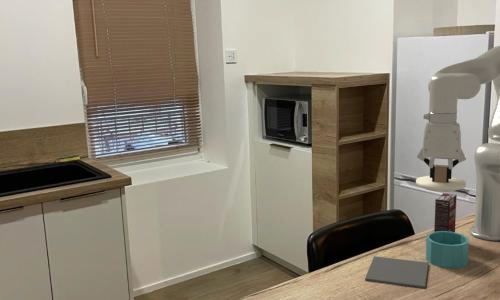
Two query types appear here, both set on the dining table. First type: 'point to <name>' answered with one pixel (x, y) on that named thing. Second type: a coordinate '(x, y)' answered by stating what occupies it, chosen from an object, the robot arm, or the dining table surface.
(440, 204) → the supplement box
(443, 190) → the lid
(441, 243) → the bowl
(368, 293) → the dining table surface
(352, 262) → the dining table surface
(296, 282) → the dining table surface
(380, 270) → the mat
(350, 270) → the dining table surface
